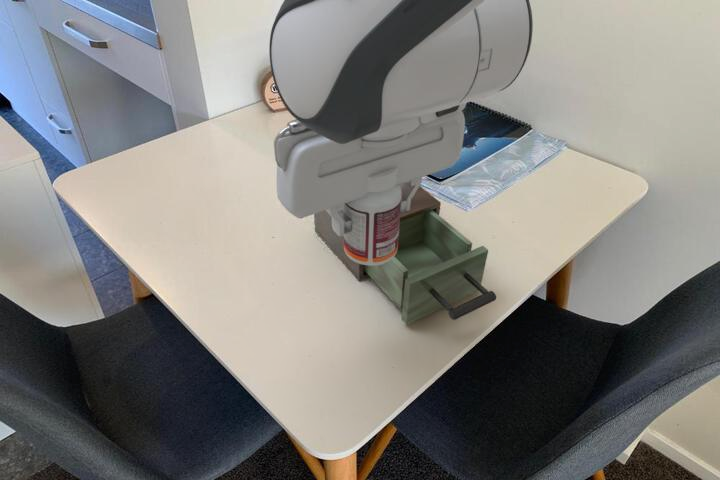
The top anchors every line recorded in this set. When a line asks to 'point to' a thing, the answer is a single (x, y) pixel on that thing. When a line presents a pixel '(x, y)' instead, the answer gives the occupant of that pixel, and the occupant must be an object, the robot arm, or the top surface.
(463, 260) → the drawer
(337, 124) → the robot arm
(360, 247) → the pill bottle
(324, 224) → the cabinet
